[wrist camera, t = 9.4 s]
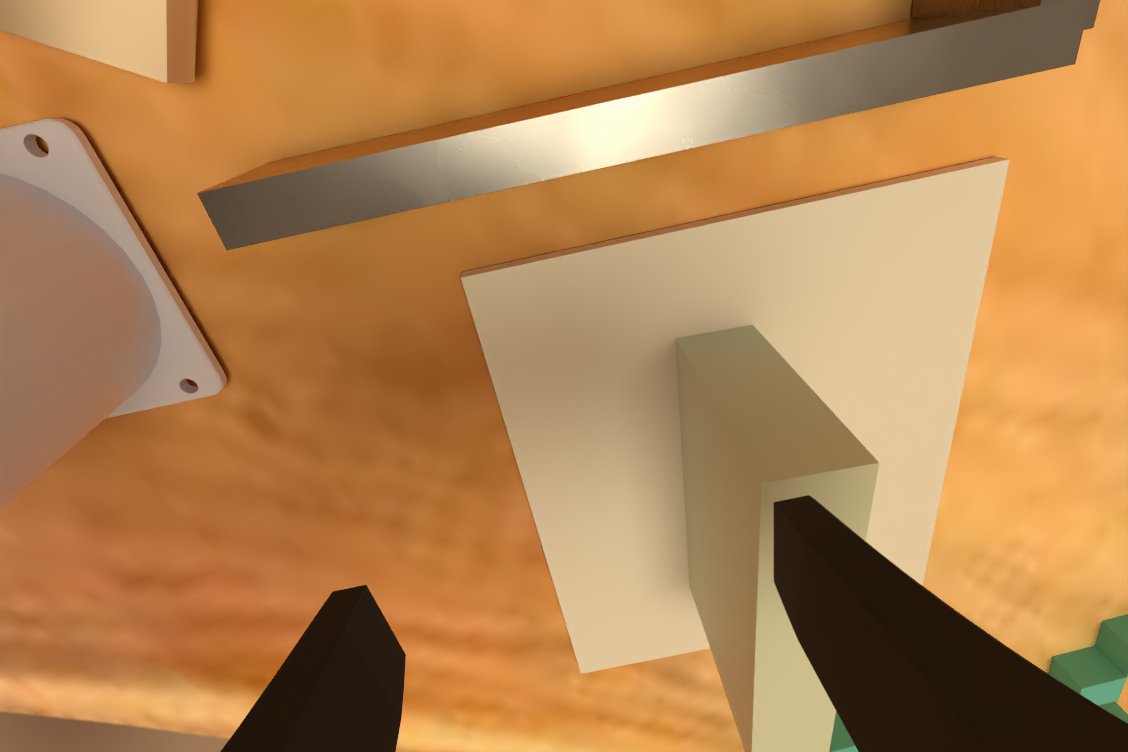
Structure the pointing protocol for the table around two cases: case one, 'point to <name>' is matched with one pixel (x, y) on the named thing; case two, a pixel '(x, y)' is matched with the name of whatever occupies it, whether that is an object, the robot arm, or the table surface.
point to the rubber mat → (717, 302)
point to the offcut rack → (652, 116)
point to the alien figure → (1068, 675)
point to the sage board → (759, 522)
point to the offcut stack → (114, 32)
